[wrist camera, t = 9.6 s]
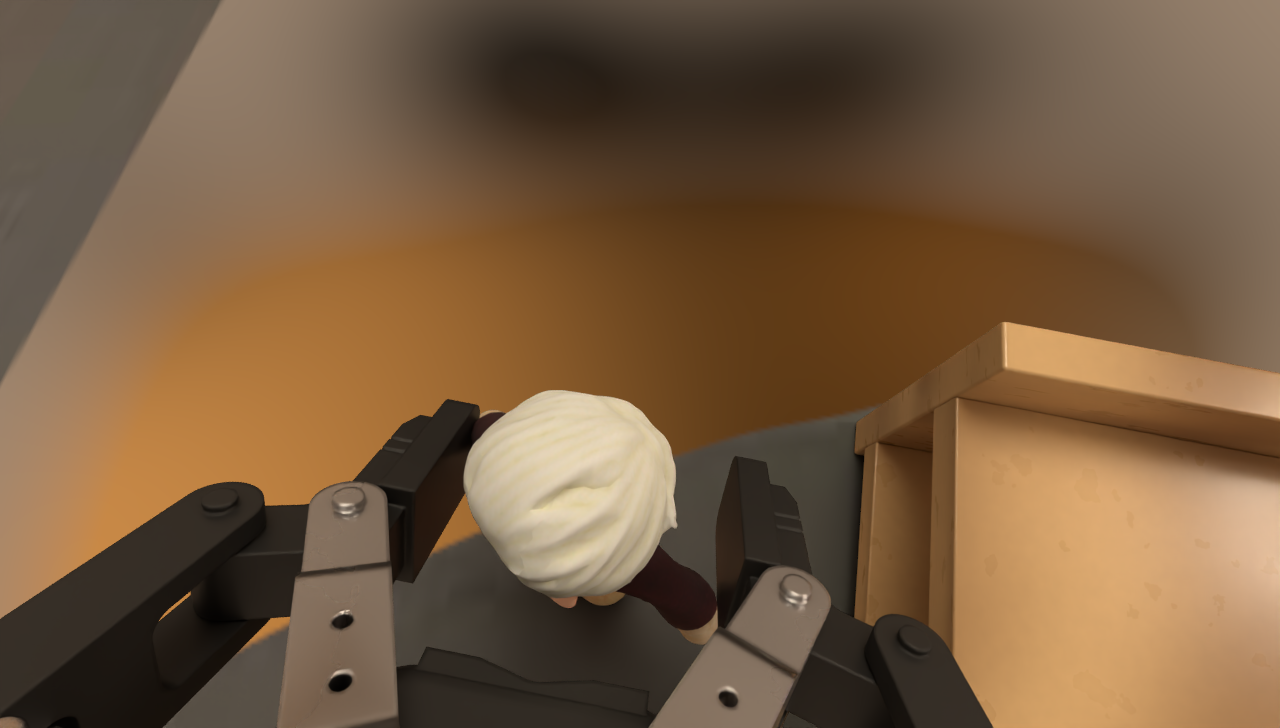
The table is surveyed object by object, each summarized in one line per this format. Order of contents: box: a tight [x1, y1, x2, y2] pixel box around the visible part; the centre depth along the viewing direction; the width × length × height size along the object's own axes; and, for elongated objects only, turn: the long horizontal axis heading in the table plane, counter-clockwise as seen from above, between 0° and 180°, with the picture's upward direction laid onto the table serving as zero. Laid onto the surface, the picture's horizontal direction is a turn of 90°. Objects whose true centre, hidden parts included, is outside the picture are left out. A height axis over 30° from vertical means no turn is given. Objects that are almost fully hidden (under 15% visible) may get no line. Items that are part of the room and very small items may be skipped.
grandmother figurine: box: [464, 390, 718, 645], centre depth 15 cm, size 8×4×13 cm, turn 61°
